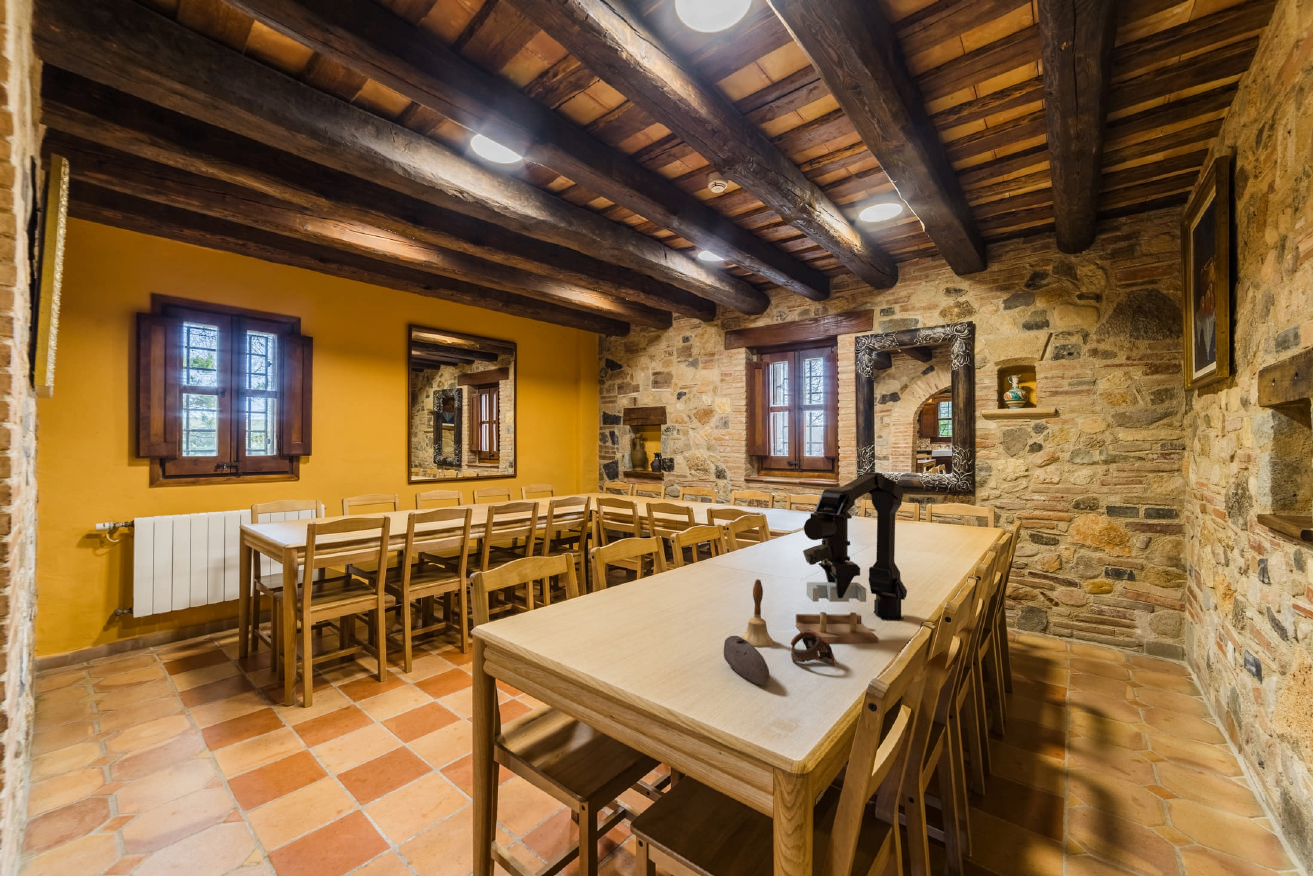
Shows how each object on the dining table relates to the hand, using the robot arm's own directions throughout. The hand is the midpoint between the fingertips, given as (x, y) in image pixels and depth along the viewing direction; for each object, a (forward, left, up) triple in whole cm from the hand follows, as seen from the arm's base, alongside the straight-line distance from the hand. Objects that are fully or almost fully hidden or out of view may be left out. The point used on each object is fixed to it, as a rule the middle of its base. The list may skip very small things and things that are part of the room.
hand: (836, 594), depth 143 cm
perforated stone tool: (+28, +25, -11) cm, 39 cm away
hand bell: (+22, +4, -11) cm, 25 cm away
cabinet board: (0, -1, -11) cm, 11 cm away
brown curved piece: (+11, +17, -11) cm, 23 cm away
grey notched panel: (0, 0, -1) cm, 1 cm away
